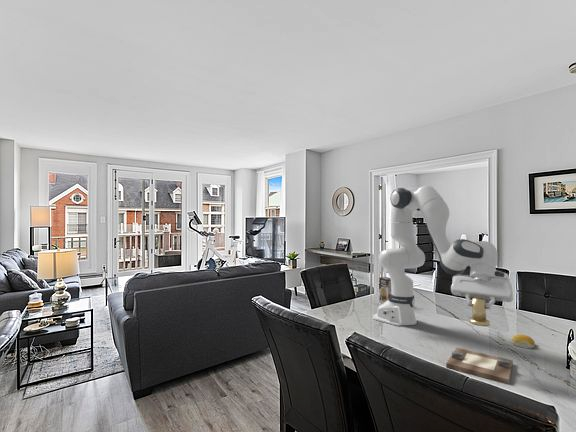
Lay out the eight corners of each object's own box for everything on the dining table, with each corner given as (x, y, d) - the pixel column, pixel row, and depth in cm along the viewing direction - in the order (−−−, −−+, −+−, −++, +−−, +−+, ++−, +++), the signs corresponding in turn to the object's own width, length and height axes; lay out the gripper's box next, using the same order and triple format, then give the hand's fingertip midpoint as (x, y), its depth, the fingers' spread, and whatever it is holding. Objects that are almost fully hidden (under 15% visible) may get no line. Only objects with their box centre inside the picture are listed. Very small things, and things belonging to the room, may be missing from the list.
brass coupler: (468, 323, 117) (467, 299, 117) (471, 319, 122) (470, 296, 122) (488, 327, 112) (487, 302, 113) (490, 322, 117) (490, 298, 118)
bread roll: (534, 343, 138) (534, 334, 138) (535, 350, 131) (535, 341, 131) (511, 339, 143) (511, 330, 143) (511, 345, 136) (511, 336, 136)
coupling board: (446, 367, 116) (446, 358, 116) (456, 351, 130) (456, 343, 130) (508, 384, 104) (508, 374, 104) (512, 364, 118) (512, 355, 118)
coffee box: (378, 301, 207) (378, 277, 207) (387, 301, 209) (386, 276, 209) (387, 305, 198) (387, 279, 198) (396, 304, 201) (396, 279, 201)
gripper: (452, 269, 129) (446, 297, 121) (513, 274, 116) (511, 306, 109) (454, 278, 133) (449, 306, 125) (514, 284, 120) (512, 316, 112)
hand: (478, 306), depth 117 cm, fingers closed on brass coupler, 4 cm apart
